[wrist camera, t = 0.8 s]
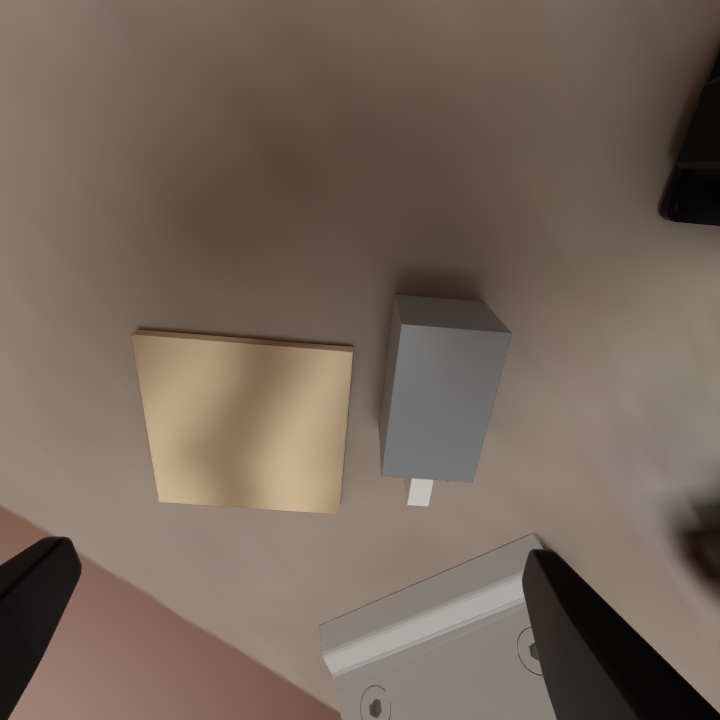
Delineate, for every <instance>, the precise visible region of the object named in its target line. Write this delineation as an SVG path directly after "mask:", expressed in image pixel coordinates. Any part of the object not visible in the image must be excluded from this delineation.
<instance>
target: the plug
mask: <svg viewBox="0 0 720 720" xmlns="http://www.w3.org/2000/svg"><path fill="white" fill-rule="evenodd" d="M511 334H512V333H511V332H510V331H509V330H508V329H507V327H506V326H505V325H504V324H503V323H502V322H501V321H500V320H499V318H498V317H497V316H496V315H495V314H494V313H493V312H492V310H491V309H490V308H489V307H488V306H487V305H486V304H485V302H482V301H470V300H458V299H446V298H434V297H422V296H410V295H397V294H395V296H394V304H393V313H392V321H391V329H390V337H389V345H388V354H387V362H386V370H385V378H384V387H383V395H382V403H381V411H380V420H379V439H380V458H381V476H385V477H399V478H404V483H405V491H406V499H407V505H417V506H428V505H429V500H430V495H431V490H432V485H433V480H441V481H455V482H468V483H473V481H474V477H475V473H476V469H477V466H478V462H479V458H480V454H481V450H482V446H483V442H484V438H485V434H486V431H487V427H488V423H489V419H490V415H491V411H492V407H493V403H494V400H495V396H496V392H497V388H498V384H499V380H500V376H501V372H502V368H503V365H504V361H505V357H506V353H507V349H508V345H509V341H510V337H511Z"/></svg>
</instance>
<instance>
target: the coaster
mask: <svg viewBox="0 0 720 720" xmlns="http://www.w3.org/2000/svg"><path fill="white" fill-rule="evenodd" d="M131 335H132V341H133V347H134V353H135V359H136V365H137V371H138V377H139V383H140V389H141V395H142V401H143V407H144V413H145V420H146V426H147V432H148V438H149V444H150V450H151V456H152V462H153V468H154V474H155V480H156V486H157V492H158V498H159V502H171V503H185V504H199V505H214V506H228V507H242V508H257V509H271V510H286V511H300V512H314V513H329V514H339V511H340V499H341V487H342V475H343V463H344V451H345V440H346V428H347V416H348V404H349V392H350V380H351V369H352V357H353V347H347V346H335V345H322V344H310V343H298V342H285V341H273V340H261V339H248V338H236V337H224V336H211V335H199V334H187V333H175V332H162V331H150V330H137V331H135V332H134V333H133V334H131Z"/></svg>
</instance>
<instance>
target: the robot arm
mask: <svg viewBox="0 0 720 720" xmlns="http://www.w3.org/2000/svg"><path fill="white" fill-rule="evenodd" d="M677 162H678V163H677V166H676V169H675V171H674V174H673V177H672V179H671V182H670V185H669V187H668V190H667V193H666V195H665V198H664V201H663V203H662V206H661V211H660V212H661V216H662V217H663V218H664V219H665V220H668V221H673V222H683V223H693V224H704V225H715V226H720V51H719V54H718V57H717V59H716V62H715V65H714V67H713V70H712V73H711V75H710V78H709V81H708V83H707V84H706V86H705V87H704V89H703V92H702V94H701V97H700V100H699V102H698V105H697V108H696V110H695V113H694V116H693V118H692V121H691V124H690V127H689V129H688V132H687V135H686V137H685V140H684V143H683V145H682V148H681V151H680V153H679V156H678V159H677ZM678 203H680V209H679V210H678V212H676V213H674V207H675V206H676V204H678ZM81 569H82V566H81V562H80V559H79V557H78V555H77V552H76V550H75V548H74V545H73V543H72V541H71V539H69V538H68V537H55V536H50V537H45V538H43V539H41V540H39V541H38V542H36V543H35V544H33V545H31V546H30V547H29V548H27V549H25V550H24V551H22V552H20V553H19V554H18V555H16V556H14V557H13V558H11V559H10V560H8V561H7V562H5V563H3V564H2V565H0V720H8V719H9V717H10V715H11V713H12V712H13V710H14V708H15V706H16V705H17V703H18V701H19V699H20V697H21V696H22V694H23V692H24V690H25V689H26V687H27V685H28V683H29V682H30V680H31V678H32V676H33V674H34V673H35V671H36V669H37V667H38V665H39V663H40V661H41V659H42V657H43V655H44V653H45V651H46V649H47V647H48V645H49V643H50V640H51V639H52V636H53V634H54V632H55V630H56V628H57V626H58V623H59V621H60V619H61V617H62V615H63V612H64V610H65V608H66V606H67V604H68V602H69V600H70V598H71V595H72V593H73V591H74V589H75V587H76V585H77V582H78V580H79V578H80V575H81ZM522 588H523V593H524V597H525V601H526V606H527V610H528V614H529V619H530V623H531V628H532V632H533V636H534V641H535V645H536V649H537V654H538V658H539V662H540V666H541V670H542V674H543V678H544V682H545V685H546V688H547V691H548V695H549V698H550V701H551V704H552V707H553V710H554V713H555V716H556V719H557V720H720V713H719V712H718V711H716V710H715V709H714V708H713V707H712V706H711V705H710V704H709V703H708V702H707V701H706V700H705V699H704V698H703V697H702V696H701V695H700V694H699V693H698V692H697V691H696V690H695V689H694V688H693V687H692V686H691V685H690V684H689V683H688V682H687V681H686V680H685V679H684V678H683V677H682V676H681V675H680V674H679V673H678V672H677V671H676V670H675V669H674V668H673V667H672V666H671V665H670V664H669V663H668V662H667V661H666V660H665V659H664V658H663V657H662V656H661V655H660V654H659V653H658V652H657V651H656V650H655V649H654V648H653V647H651V646H650V645H649V644H648V643H647V642H646V641H645V640H644V639H643V638H642V637H641V636H640V635H639V634H638V633H637V632H636V631H635V630H634V629H633V628H632V627H631V626H630V625H629V624H628V623H627V622H626V621H625V620H624V619H623V618H622V617H621V616H620V615H619V614H618V613H617V612H616V611H615V610H614V609H613V608H612V607H611V606H610V605H609V604H608V603H607V602H606V601H605V600H604V599H603V598H602V597H601V596H600V595H599V594H598V593H597V592H596V591H595V590H594V589H593V588H592V587H591V586H590V585H589V584H588V583H586V582H585V581H584V580H583V579H582V578H581V577H580V576H579V575H578V574H577V573H576V572H575V571H574V570H573V569H572V568H571V567H570V566H569V565H568V564H567V563H566V562H565V561H564V560H563V559H562V558H561V557H560V556H559V555H558V554H557V553H556V552H554V551H553V550H551V549H531V550H530V551H529V553H528V557H527V560H526V564H525V568H524V572H523V576H522Z"/></svg>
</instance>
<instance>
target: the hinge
mask: <svg viewBox="0 0 720 720" xmlns="http://www.w3.org/2000/svg"><path fill="white" fill-rule="evenodd" d="M531 549H544V548H543V547H542V545H541V543H540V541H539V539H538V537H537V536H536V535H535V534H531V535H528V536H526V537H524V538H521V539H519V540H517V541H514V542H512V543H510V544H507V545H505V546H503V547H500V548H498V549H496V550H494V551H491V552H489V553H487V554H484V555H482V556H480V557H477V558H475V559H473V560H470V561H468V562H466V563H463V564H461V565H459V566H456V567H454V568H452V569H449V570H447V571H445V572H443V573H440V574H438V575H436V576H433V577H431V578H429V579H426V580H424V581H422V582H419V583H417V584H415V585H412V586H410V587H408V588H405V589H403V590H401V591H399V592H396V593H394V594H392V595H389V596H387V597H385V598H382V599H380V600H378V601H375V602H373V603H371V604H368V605H366V606H364V607H361V608H359V609H357V610H355V611H352V612H350V613H348V614H345V615H343V616H341V617H338V618H336V619H334V620H331V621H329V622H327V623H324V624H322V625H320V626H319V633H320V643H321V652H322V657H323V659H324V661H325V662H326V664H327V666H328V668H329V669H330V671H331V673H332V676H333V679H334V684H335V689H336V694H337V699H338V703H339V708H340V713H341V718H342V720H557V719H556V716H555V713H554V710H553V707H552V704H551V701H550V698H549V695H548V691H547V688H546V685H545V682H544V678H543V674H542V670H541V666H540V662H539V658H538V654H537V649H536V645H535V641H534V636H533V632H532V628H531V623H530V619H529V614H528V610H527V606H526V601H525V597H524V593H523V588H522V576H523V572H524V568H525V564H526V560H527V557H528V553H529V551H530V550H531Z"/></svg>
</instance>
